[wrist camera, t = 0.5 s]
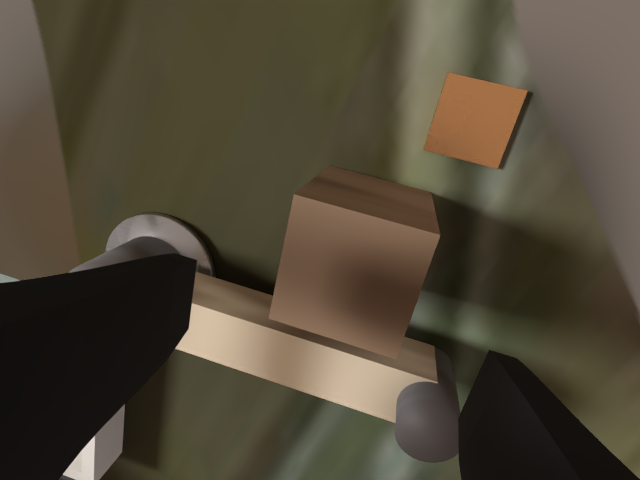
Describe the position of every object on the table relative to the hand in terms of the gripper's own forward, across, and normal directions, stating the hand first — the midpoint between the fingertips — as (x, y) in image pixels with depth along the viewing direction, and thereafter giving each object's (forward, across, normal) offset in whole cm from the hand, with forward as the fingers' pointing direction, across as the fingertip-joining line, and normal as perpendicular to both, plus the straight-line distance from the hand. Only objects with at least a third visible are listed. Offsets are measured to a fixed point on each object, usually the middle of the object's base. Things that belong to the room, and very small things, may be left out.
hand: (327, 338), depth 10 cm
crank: (+8, +3, +5) cm, 10 cm away
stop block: (+9, 0, 0) cm, 9 cm away
